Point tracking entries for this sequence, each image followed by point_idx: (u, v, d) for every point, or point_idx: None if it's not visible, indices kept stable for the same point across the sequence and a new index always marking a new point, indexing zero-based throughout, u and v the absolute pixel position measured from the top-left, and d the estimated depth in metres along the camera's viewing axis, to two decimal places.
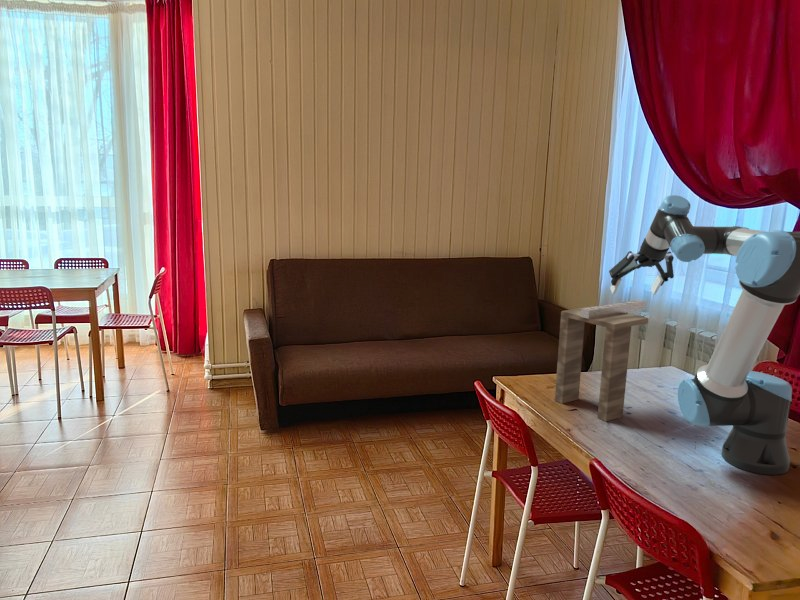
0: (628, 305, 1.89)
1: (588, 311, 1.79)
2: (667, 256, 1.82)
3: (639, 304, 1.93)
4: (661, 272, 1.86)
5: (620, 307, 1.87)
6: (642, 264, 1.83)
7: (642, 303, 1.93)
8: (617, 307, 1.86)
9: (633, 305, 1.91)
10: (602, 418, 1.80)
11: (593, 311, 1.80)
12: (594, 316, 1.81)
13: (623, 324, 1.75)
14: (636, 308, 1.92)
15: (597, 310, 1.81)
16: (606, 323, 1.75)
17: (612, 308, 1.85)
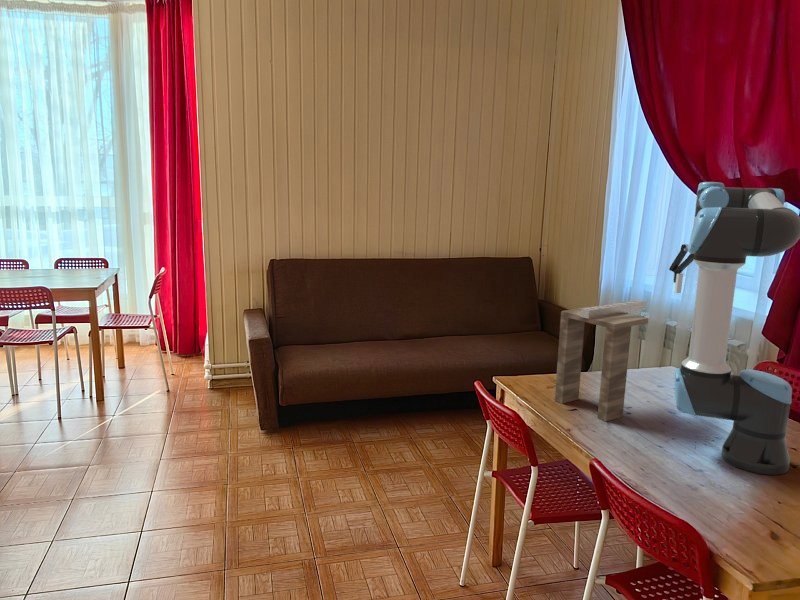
0: (628, 305, 1.89)
1: (588, 311, 1.79)
2: None
3: (639, 304, 1.93)
4: None
5: (620, 307, 1.87)
6: (692, 253, 1.95)
7: (642, 303, 1.93)
8: (617, 307, 1.86)
9: (633, 305, 1.91)
10: (602, 418, 1.80)
11: (593, 311, 1.80)
12: (594, 316, 1.81)
13: (623, 324, 1.75)
14: (636, 308, 1.92)
15: (597, 310, 1.81)
16: (606, 323, 1.75)
17: (612, 308, 1.85)
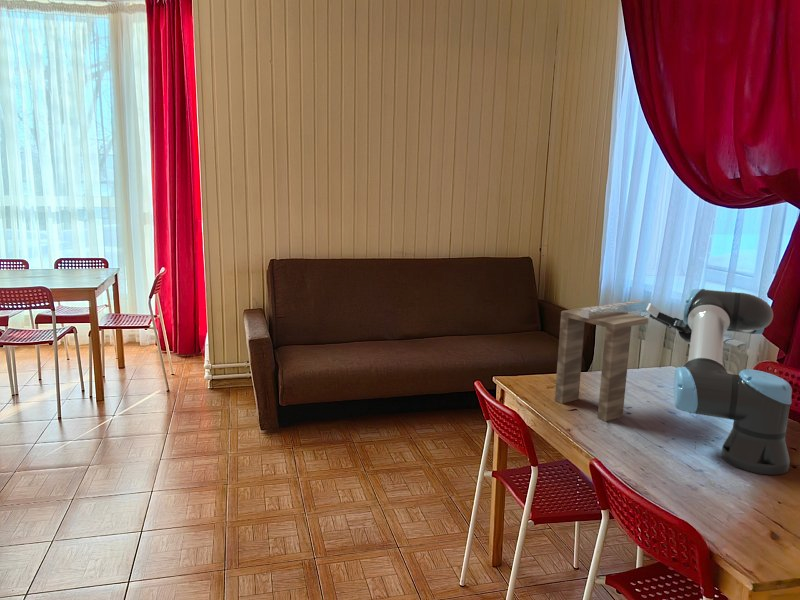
0: (628, 305, 1.89)
1: (588, 311, 1.79)
2: None
3: (639, 304, 1.93)
4: None
5: (620, 307, 1.87)
6: None
7: (642, 303, 1.93)
8: (617, 307, 1.86)
9: (633, 305, 1.91)
10: (602, 418, 1.80)
11: (593, 311, 1.80)
12: (594, 316, 1.81)
13: (623, 324, 1.75)
14: (636, 308, 1.92)
15: (597, 310, 1.81)
16: (606, 323, 1.75)
17: (612, 308, 1.85)
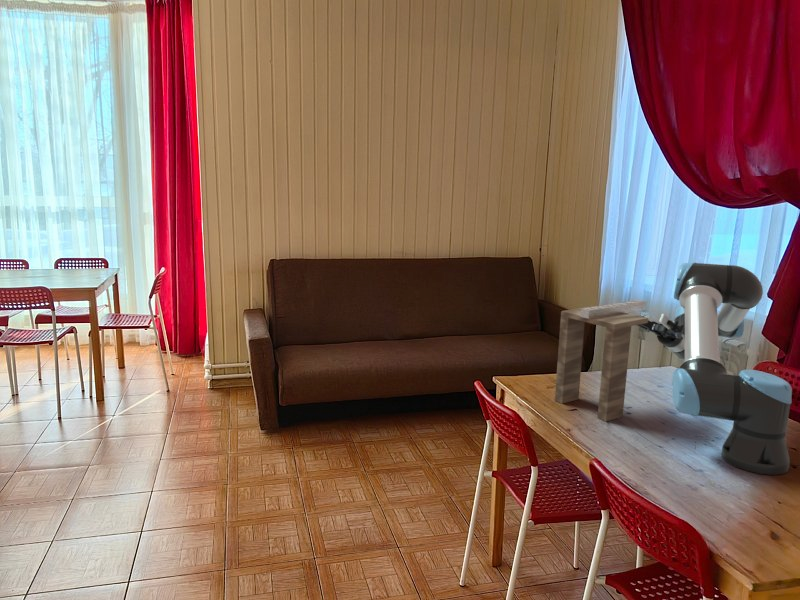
0: (628, 305, 1.89)
1: (588, 311, 1.79)
2: None
3: (639, 304, 1.93)
4: None
5: (620, 307, 1.87)
6: None
7: (642, 303, 1.93)
8: (617, 307, 1.86)
9: (633, 305, 1.91)
10: (602, 418, 1.80)
11: (593, 311, 1.80)
12: (594, 316, 1.81)
13: (623, 324, 1.75)
14: (636, 308, 1.92)
15: (597, 310, 1.81)
16: (606, 323, 1.75)
17: (612, 308, 1.85)
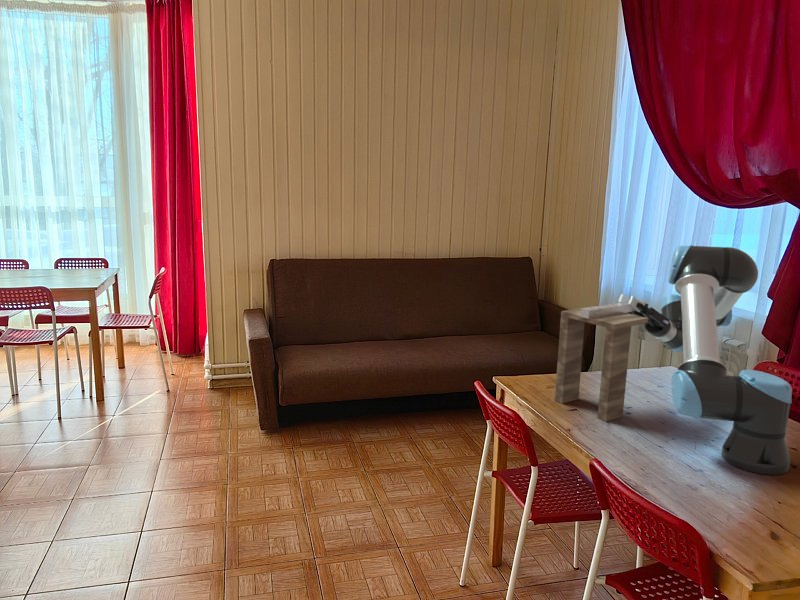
0: (628, 305, 1.89)
1: (588, 311, 1.79)
2: None
3: None
4: None
5: (620, 307, 1.87)
6: None
7: (642, 303, 1.93)
8: (617, 307, 1.86)
9: None
10: (602, 418, 1.80)
11: (593, 311, 1.80)
12: (594, 316, 1.81)
13: (623, 324, 1.75)
14: None
15: (597, 310, 1.81)
16: (606, 323, 1.75)
17: (612, 308, 1.85)
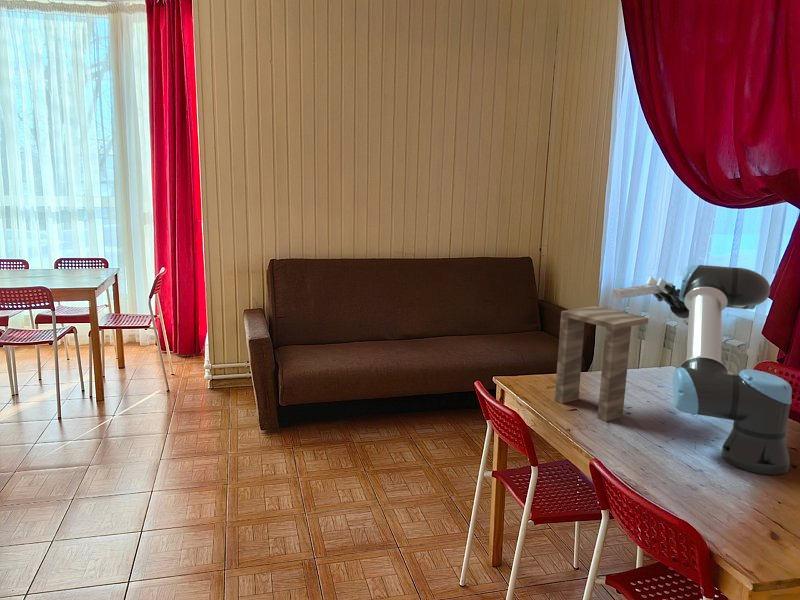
0: (656, 287, 1.97)
1: (620, 291, 1.87)
2: None
3: None
4: None
5: (649, 288, 1.95)
6: None
7: None
8: (646, 288, 1.94)
9: None
10: (602, 418, 1.80)
11: (624, 292, 1.88)
12: (625, 296, 1.89)
13: (623, 324, 1.75)
14: None
15: (628, 291, 1.89)
16: (606, 323, 1.75)
17: (642, 289, 1.93)
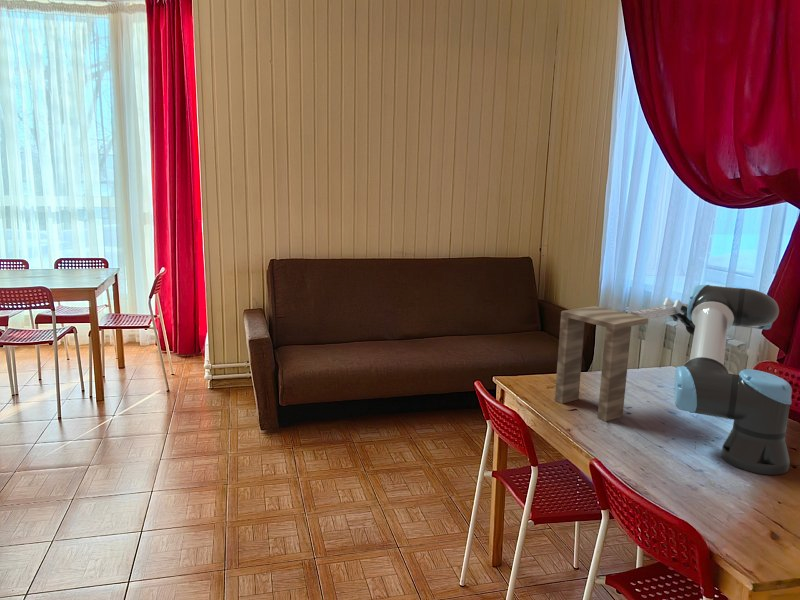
0: (673, 308, 2.00)
1: (638, 314, 1.90)
2: None
3: None
4: None
5: (666, 310, 1.98)
6: None
7: None
8: (663, 310, 1.97)
9: None
10: (602, 418, 1.80)
11: (642, 314, 1.91)
12: None
13: (623, 324, 1.75)
14: None
15: (646, 313, 1.92)
16: (606, 323, 1.75)
17: (659, 311, 1.96)
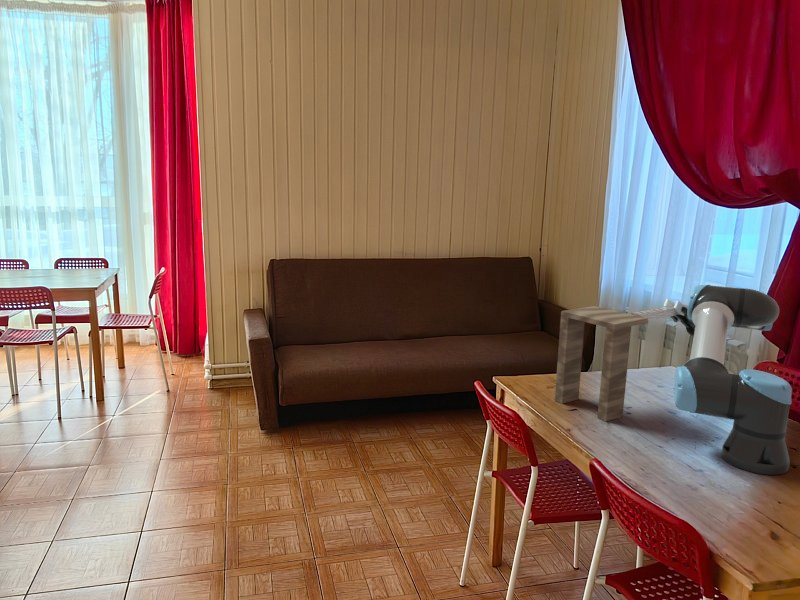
0: (673, 309, 2.00)
1: (638, 315, 1.90)
2: None
3: None
4: None
5: (666, 311, 1.98)
6: None
7: (686, 307, 2.04)
8: (664, 311, 1.97)
9: None
10: (602, 418, 1.80)
11: (643, 315, 1.91)
12: None
13: (623, 324, 1.75)
14: None
15: (646, 314, 1.92)
16: (606, 323, 1.75)
17: (659, 312, 1.96)
